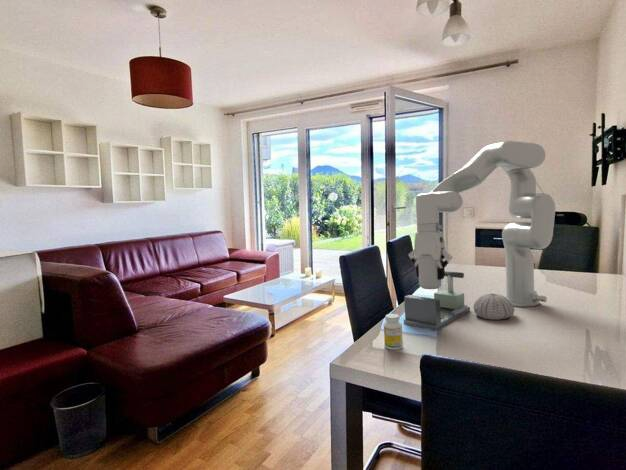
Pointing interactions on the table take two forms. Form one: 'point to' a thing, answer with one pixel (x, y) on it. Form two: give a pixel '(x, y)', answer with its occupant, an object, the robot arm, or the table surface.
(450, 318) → the base
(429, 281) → the can
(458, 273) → the grey-green handled block
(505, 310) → the sea urchin shell
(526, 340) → the table surface
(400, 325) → the supplement bottle
